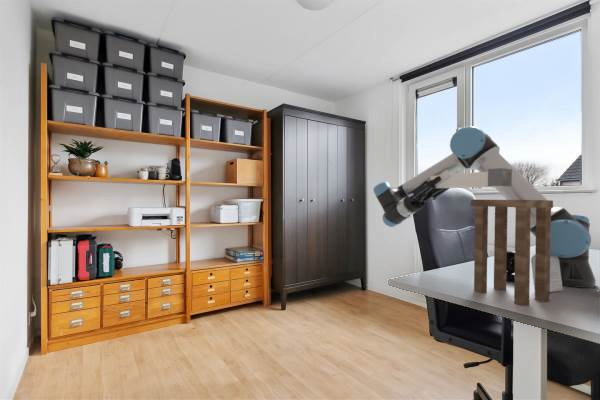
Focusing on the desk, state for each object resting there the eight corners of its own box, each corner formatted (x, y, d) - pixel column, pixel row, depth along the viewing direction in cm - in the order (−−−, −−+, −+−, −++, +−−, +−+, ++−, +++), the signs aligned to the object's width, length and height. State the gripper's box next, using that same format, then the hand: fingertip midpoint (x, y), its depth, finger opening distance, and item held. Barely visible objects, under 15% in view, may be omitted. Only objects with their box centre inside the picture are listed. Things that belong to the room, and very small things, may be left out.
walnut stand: (495, 286, 101) (496, 200, 101) (551, 301, 86) (552, 200, 86) (469, 289, 96) (470, 199, 96) (523, 306, 82) (525, 199, 82)
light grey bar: (438, 188, 118) (439, 174, 118) (511, 186, 93) (512, 169, 93) (428, 187, 116) (429, 174, 116) (500, 185, 91) (501, 168, 91)
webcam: (505, 282, 106) (505, 253, 106) (491, 277, 114) (492, 249, 114) (527, 282, 106) (528, 253, 106) (512, 277, 114) (513, 249, 114)
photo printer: (549, 288, 102) (544, 250, 103) (565, 290, 98) (560, 250, 99) (532, 292, 97) (527, 252, 98) (548, 294, 93) (543, 252, 95)
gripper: (429, 212, 130) (474, 183, 111) (397, 212, 123) (439, 181, 104) (422, 197, 133) (465, 166, 114) (391, 196, 126) (431, 162, 108)
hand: (453, 173), depth 109 cm, fingers closed on light grey bar, 4 cm apart
